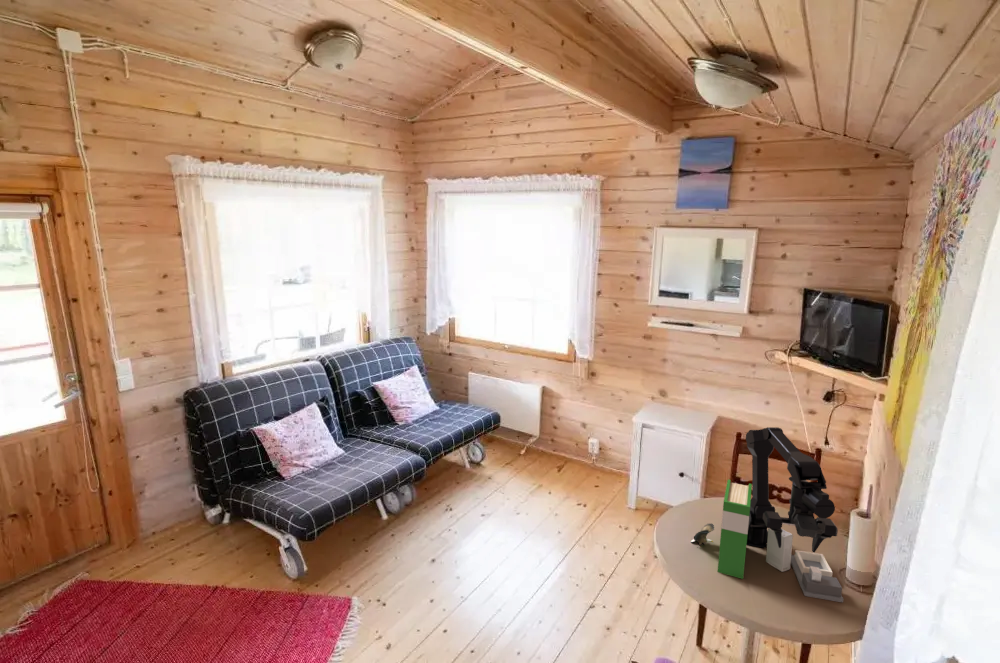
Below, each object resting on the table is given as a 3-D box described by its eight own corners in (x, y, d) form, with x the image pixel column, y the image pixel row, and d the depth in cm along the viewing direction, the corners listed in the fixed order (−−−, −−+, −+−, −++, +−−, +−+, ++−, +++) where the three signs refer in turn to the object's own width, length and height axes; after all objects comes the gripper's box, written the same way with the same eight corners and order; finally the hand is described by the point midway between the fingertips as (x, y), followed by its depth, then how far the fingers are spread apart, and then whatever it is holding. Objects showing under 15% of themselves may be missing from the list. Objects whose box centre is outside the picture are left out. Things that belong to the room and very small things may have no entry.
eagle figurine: (712, 557, 174) (714, 532, 172) (689, 552, 176) (691, 527, 175) (712, 545, 180) (714, 521, 179) (690, 540, 183) (692, 516, 182)
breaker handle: (811, 580, 155) (812, 571, 155) (808, 574, 158) (809, 566, 157) (820, 582, 154) (821, 573, 154) (817, 576, 157) (818, 567, 157)
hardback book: (721, 544, 181) (727, 479, 177) (745, 550, 178) (751, 483, 174) (717, 572, 166) (723, 501, 162) (743, 579, 162) (750, 507, 158)
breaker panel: (804, 595, 155) (806, 582, 154) (788, 557, 174) (789, 546, 173) (842, 602, 152) (844, 589, 151) (822, 563, 171) (823, 551, 170)
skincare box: (790, 569, 168) (794, 534, 166) (781, 572, 166) (785, 537, 164) (773, 558, 173) (777, 524, 171) (764, 562, 171) (767, 528, 169)
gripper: (774, 509, 149) (769, 560, 151) (848, 518, 145) (841, 570, 147) (764, 492, 160) (760, 539, 162) (833, 500, 155) (827, 548, 158)
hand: (796, 549), depth 157 cm, fingers open, 9 cm apart
